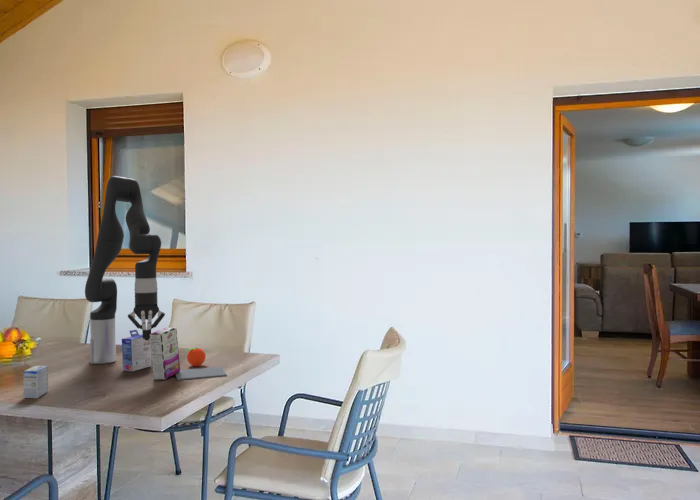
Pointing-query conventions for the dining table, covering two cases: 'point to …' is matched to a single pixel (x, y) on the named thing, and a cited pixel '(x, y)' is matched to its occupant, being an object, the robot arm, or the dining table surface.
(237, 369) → the dining table surface
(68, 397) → the dining table surface
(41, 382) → the medicine box
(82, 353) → the dining table surface
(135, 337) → the ink cartridge box
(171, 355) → the candy bar box
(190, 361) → the clementine
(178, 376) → the mat
